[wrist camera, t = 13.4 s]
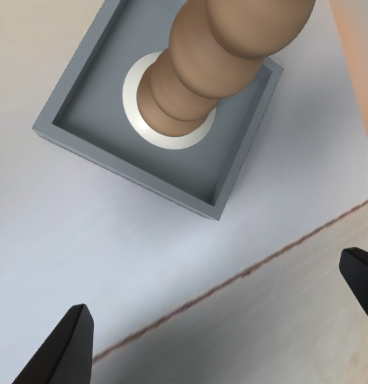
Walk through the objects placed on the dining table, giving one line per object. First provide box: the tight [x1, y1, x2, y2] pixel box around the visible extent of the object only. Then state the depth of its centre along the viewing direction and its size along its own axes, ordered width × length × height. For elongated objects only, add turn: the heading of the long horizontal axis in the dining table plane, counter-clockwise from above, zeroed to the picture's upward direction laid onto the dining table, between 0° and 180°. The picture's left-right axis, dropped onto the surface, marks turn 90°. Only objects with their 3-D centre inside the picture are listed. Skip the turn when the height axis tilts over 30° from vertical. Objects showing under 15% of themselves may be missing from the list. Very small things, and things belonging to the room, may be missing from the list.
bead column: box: [136, 0, 316, 137], centre depth 14 cm, size 6×6×13 cm
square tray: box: [32, 0, 283, 221], centre depth 20 cm, size 14×14×2 cm
